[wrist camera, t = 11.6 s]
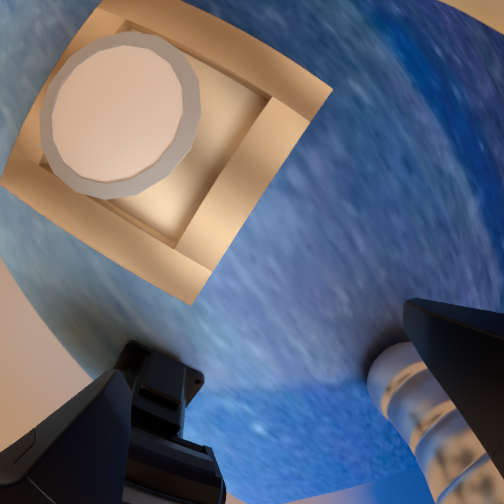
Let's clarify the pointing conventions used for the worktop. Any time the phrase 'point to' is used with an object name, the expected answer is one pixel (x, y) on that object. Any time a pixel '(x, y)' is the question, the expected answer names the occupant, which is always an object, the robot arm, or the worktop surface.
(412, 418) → the plastic bottle
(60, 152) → the white tapered cup
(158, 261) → the holder tray
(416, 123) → the worktop surface
